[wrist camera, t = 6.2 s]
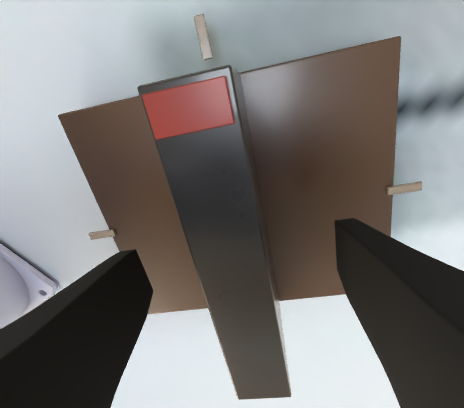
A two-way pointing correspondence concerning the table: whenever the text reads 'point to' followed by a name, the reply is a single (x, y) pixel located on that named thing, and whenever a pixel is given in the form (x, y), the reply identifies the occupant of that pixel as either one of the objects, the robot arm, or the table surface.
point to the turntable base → (260, 168)
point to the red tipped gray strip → (222, 219)
